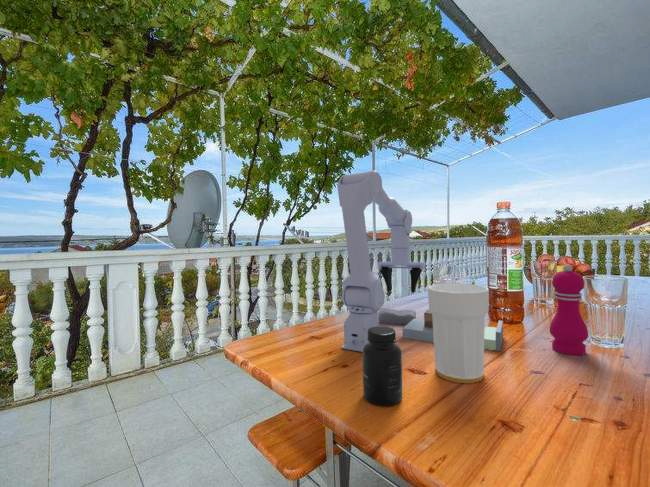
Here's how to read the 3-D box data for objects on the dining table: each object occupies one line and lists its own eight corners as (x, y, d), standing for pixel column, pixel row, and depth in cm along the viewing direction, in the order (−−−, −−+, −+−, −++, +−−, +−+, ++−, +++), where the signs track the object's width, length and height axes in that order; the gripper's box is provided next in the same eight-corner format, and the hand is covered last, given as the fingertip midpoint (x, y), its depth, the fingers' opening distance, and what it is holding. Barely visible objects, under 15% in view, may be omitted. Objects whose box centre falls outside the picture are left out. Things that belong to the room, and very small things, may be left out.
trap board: (402, 337, 89) (402, 321, 89) (414, 326, 98) (413, 311, 98) (500, 351, 76) (500, 332, 76) (503, 337, 86) (503, 320, 86)
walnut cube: (439, 329, 87) (439, 314, 87) (424, 327, 89) (424, 312, 89) (442, 325, 90) (442, 310, 90) (428, 323, 92) (427, 309, 92)
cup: (494, 369, 67) (493, 285, 67) (485, 392, 58) (484, 294, 57) (438, 358, 74) (436, 281, 73) (422, 377, 64) (420, 290, 64)
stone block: (380, 321, 112) (376, 323, 103) (381, 307, 113) (377, 308, 103) (416, 324, 109) (416, 327, 99) (417, 310, 109) (416, 311, 100)
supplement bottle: (355, 398, 57) (353, 330, 57) (378, 384, 62) (376, 322, 62) (388, 412, 53) (386, 338, 52) (410, 396, 57) (408, 328, 57)
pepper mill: (548, 343, 81) (547, 262, 80) (585, 347, 77) (585, 263, 76) (550, 353, 75) (550, 265, 74) (591, 358, 71) (590, 266, 70)
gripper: (427, 247, 102) (427, 290, 103) (383, 247, 110) (383, 287, 110) (421, 248, 96) (422, 294, 97) (375, 248, 104) (376, 291, 104)
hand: (401, 291), depth 103 cm, fingers open, 7 cm apart
